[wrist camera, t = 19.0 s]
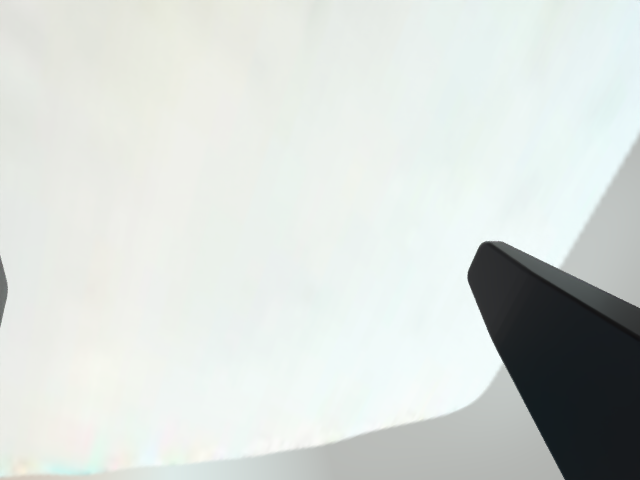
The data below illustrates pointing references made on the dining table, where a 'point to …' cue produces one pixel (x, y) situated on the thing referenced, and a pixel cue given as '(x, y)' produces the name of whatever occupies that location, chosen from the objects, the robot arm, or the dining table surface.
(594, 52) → the dining table surface
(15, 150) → the dining table surface
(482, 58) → the dining table surface
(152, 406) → the dining table surface
